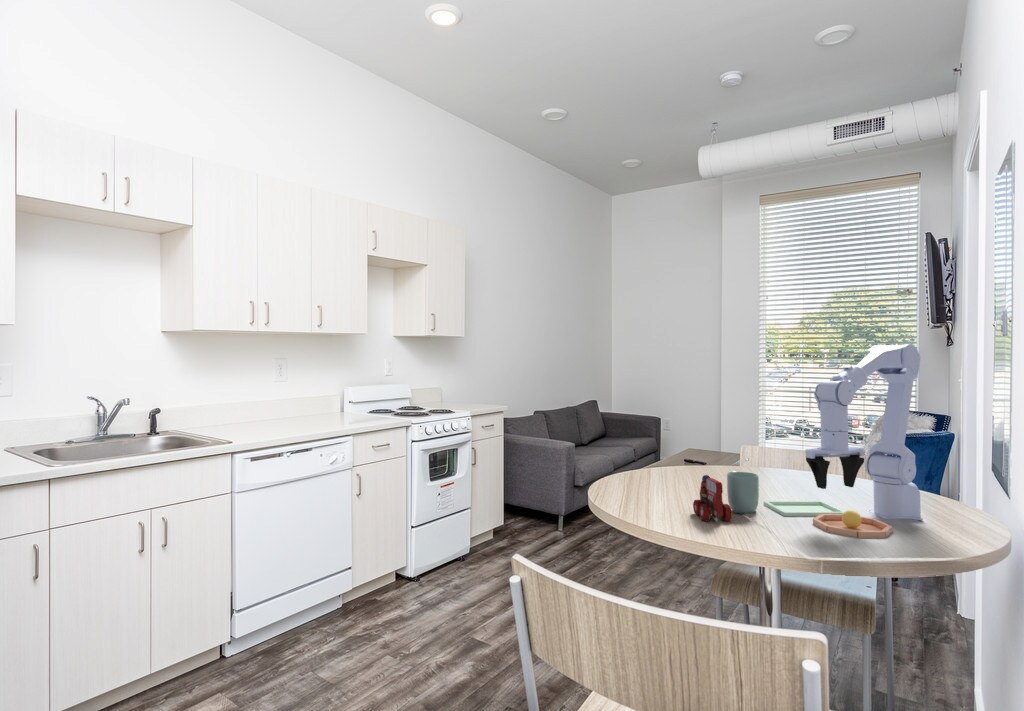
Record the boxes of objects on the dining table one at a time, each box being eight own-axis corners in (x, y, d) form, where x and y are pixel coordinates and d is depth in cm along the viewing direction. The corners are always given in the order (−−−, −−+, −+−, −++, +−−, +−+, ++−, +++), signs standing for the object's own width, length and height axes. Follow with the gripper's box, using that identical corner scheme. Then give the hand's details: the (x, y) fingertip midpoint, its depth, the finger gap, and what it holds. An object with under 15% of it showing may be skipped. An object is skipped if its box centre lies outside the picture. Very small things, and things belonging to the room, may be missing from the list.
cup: (762, 516, 141) (761, 477, 142) (730, 515, 143) (729, 476, 143) (755, 509, 149) (754, 472, 149) (724, 507, 151) (724, 471, 151)
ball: (855, 525, 132) (854, 508, 132) (865, 530, 128) (865, 512, 128) (838, 525, 132) (838, 508, 132) (848, 530, 128) (847, 512, 128)
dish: (864, 521, 137) (864, 514, 137) (906, 540, 122) (906, 532, 122) (803, 521, 137) (803, 513, 137) (837, 540, 122) (837, 531, 122)
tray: (822, 506, 152) (822, 501, 152) (848, 518, 140) (848, 512, 140) (763, 506, 152) (763, 501, 152) (784, 518, 140) (784, 512, 140)
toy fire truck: (716, 511, 147) (716, 472, 148) (734, 524, 135) (734, 481, 135) (690, 511, 147) (689, 472, 148) (706, 524, 135) (705, 481, 135)
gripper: (847, 427, 138) (848, 482, 138) (796, 429, 135) (797, 485, 135) (870, 431, 131) (871, 488, 131) (817, 432, 128) (818, 491, 128)
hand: (835, 487), depth 132 cm, fingers open, 7 cm apart
